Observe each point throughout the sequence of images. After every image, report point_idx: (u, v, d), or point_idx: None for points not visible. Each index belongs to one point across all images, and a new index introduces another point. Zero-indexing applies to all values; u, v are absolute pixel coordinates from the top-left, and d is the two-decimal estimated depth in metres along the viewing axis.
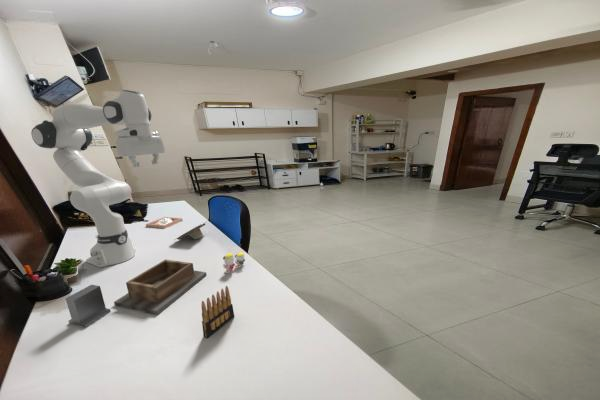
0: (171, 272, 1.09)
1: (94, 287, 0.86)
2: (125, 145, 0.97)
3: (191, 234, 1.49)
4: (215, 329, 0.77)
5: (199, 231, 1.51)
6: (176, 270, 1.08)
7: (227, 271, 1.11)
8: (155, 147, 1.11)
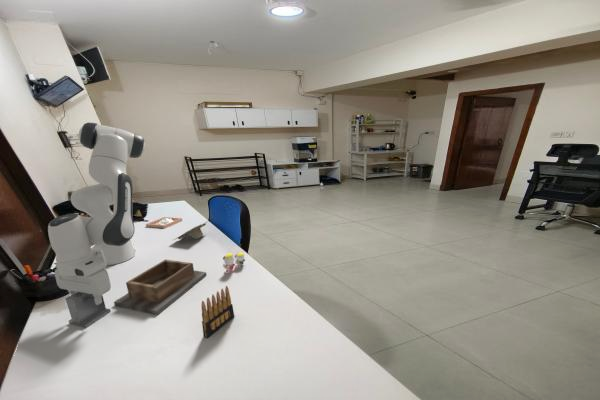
0: (171, 272, 1.09)
1: None
2: (108, 278, 0.82)
3: (191, 234, 1.50)
4: (215, 329, 0.77)
5: (199, 231, 1.51)
6: (176, 270, 1.08)
7: (227, 271, 1.11)
8: None
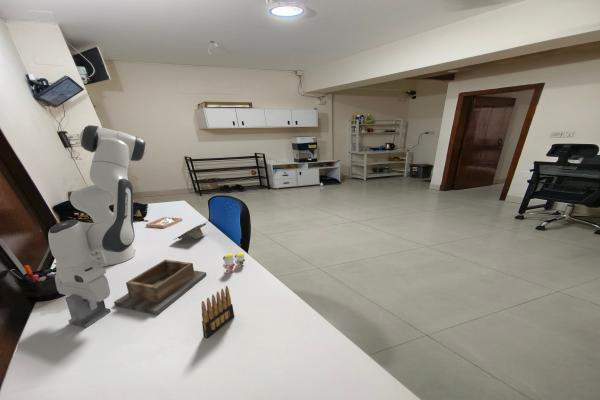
0: (171, 272, 1.09)
1: None
2: (108, 284, 0.82)
3: (191, 234, 1.50)
4: (215, 329, 0.77)
5: (199, 231, 1.51)
6: (176, 270, 1.08)
7: (227, 271, 1.11)
8: None
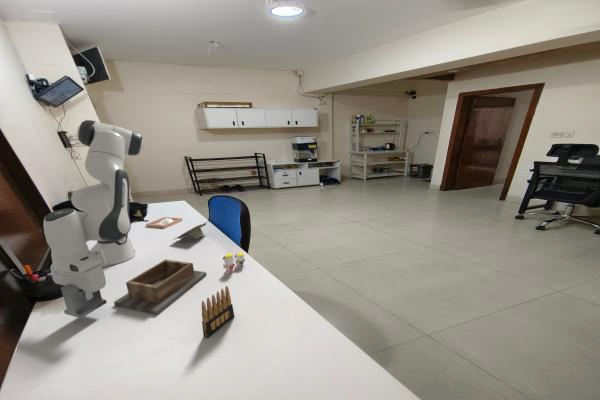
0: (171, 272, 1.09)
1: None
2: None
3: (192, 234, 1.50)
4: (215, 329, 0.77)
5: (200, 231, 1.51)
6: (176, 270, 1.08)
7: (227, 271, 1.11)
8: None
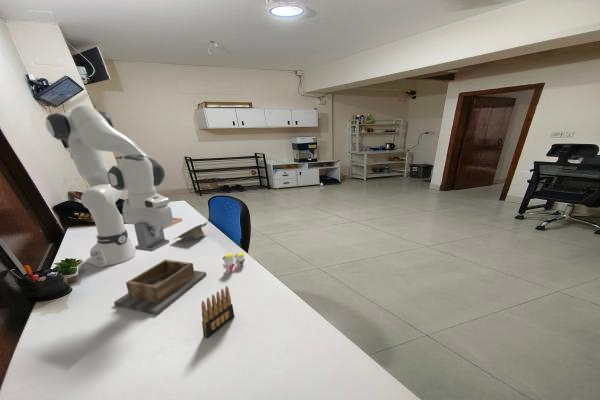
0: (171, 272, 1.09)
1: None
2: None
3: (192, 233, 1.50)
4: (215, 329, 0.77)
5: (200, 231, 1.51)
6: (176, 270, 1.08)
7: (227, 271, 1.11)
8: None
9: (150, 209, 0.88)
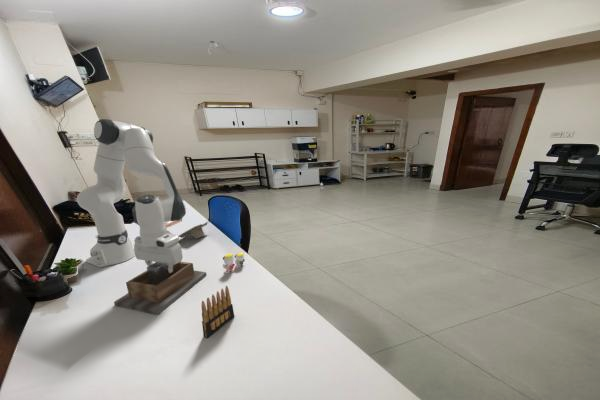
0: None
1: None
2: None
3: (193, 233, 1.51)
4: (215, 329, 0.77)
5: (200, 230, 1.52)
6: (176, 270, 1.08)
7: (227, 271, 1.11)
8: None
9: (161, 248, 0.92)
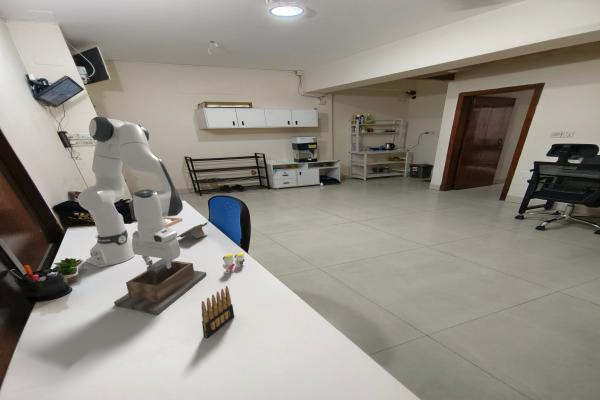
0: None
1: None
2: None
3: (193, 233, 1.51)
4: (215, 329, 0.77)
5: (200, 230, 1.52)
6: (176, 270, 1.08)
7: (227, 271, 1.11)
8: None
9: (159, 243, 0.91)
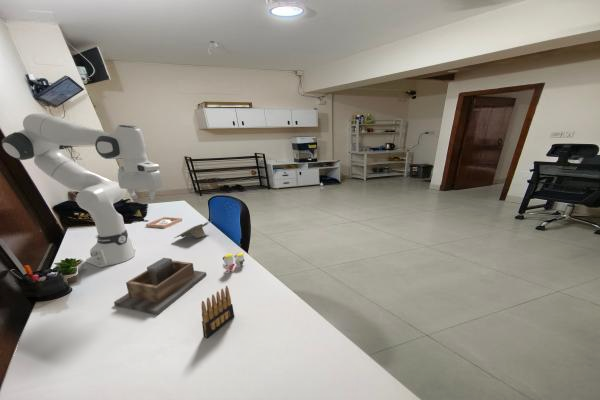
0: None
1: (167, 259, 1.01)
2: None
3: (193, 233, 1.51)
4: (215, 329, 0.77)
5: (201, 230, 1.52)
6: (176, 270, 1.08)
7: (227, 271, 1.11)
8: None
9: (142, 173, 0.99)
